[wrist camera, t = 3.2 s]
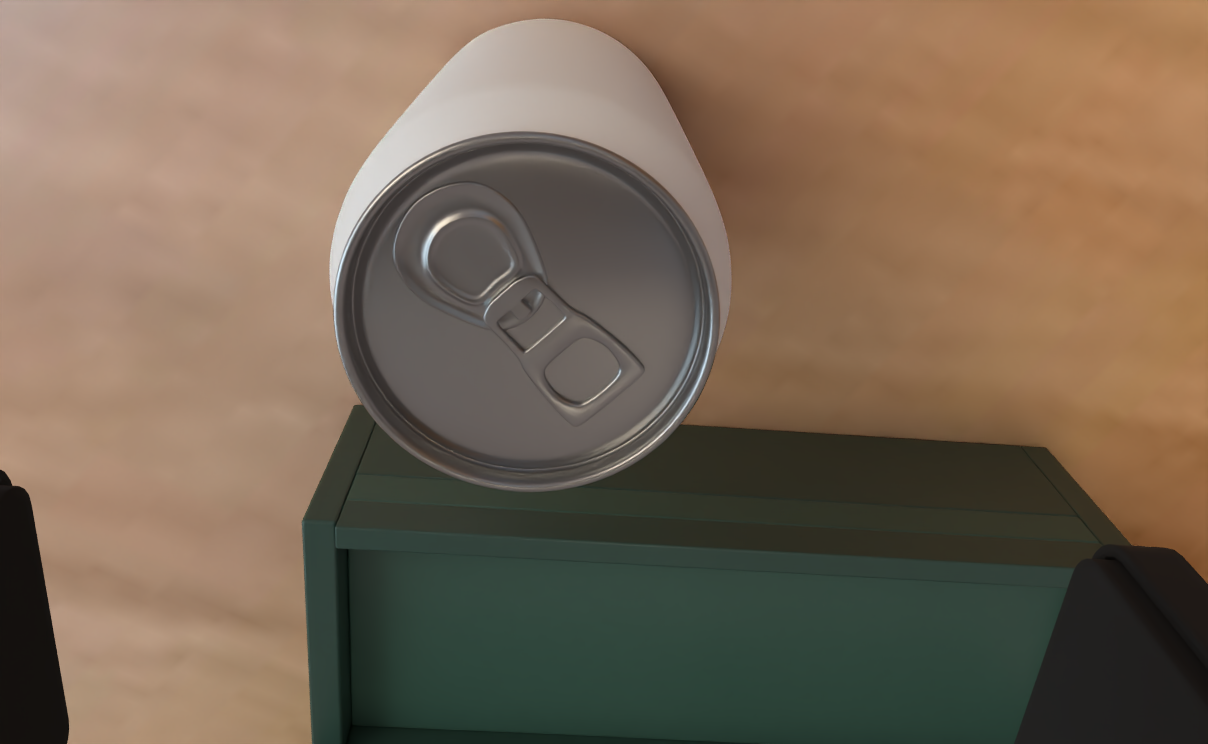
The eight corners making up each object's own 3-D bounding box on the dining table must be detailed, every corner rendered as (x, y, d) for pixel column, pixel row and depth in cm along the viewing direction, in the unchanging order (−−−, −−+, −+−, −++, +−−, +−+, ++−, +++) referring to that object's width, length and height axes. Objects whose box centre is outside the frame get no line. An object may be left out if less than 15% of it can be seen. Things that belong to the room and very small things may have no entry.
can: (554, -45, 24) (536, -9, 13) (727, 159, 26) (839, 340, 15) (365, 141, 25) (206, 313, 14) (542, 318, 28) (520, 587, 17)
